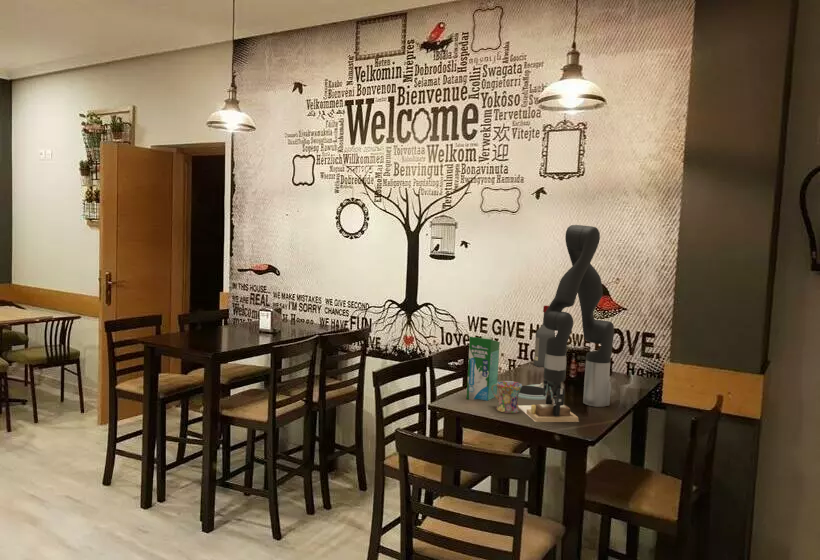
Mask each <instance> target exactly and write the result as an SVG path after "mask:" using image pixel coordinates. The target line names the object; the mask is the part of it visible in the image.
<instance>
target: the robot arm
mask: <svg viewBox="0 0 820 560" xmlns="http://www.w3.org/2000/svg"><path fill="white" fill-rule="evenodd" d="M600 238H601V234H600V231H599V229H598V227H596V226H592V225H591V226H590V225H581V224H573V225H569V226H568V227H567V229H566V231H565V245H566V248H567V252H568V256H569V258H570V262H571V265H572V266H571V267H570V268H569V269H568V270H567V271H566V272H565V273H564V275H562V277H561V279H560V280H559V284H558V286H557V289H556V292H555V296H554V297H553V299H552V301H551V302H550V304H549V305H548V306H549V307H548V308H547V310H546V312H545V314H544V313H543V317H542V324H543V323H544V326H545V327H546V328H547V329H550V330H554V331H556V332H557V333H556V334H555V337H550V338H548V339H547V344H546V356H545V364H544V367H543V383H544V386H543V396H545V399H544V400H545V404H554V406H553V415H554V416H559V415H560V406H561V405H564V404H565V394H566V389H565V388H562V383H563V382H565V381H566V376H567V375H566V374H567V346H568V342H569V338H570V336H571V333H572V330H573V329H574V328H573V327H574V318H573V316H572V314H571V313H569V312H567V311H563V310H564V309H565V308H571V307H572V306H574V304H575V302H576V299H577V296H578V301H579V306H580V313H581V322H582V324H581V325H582V334H583V337H584V339H585V341H586V342H588V343H592V344H596V345H597V344H598V345H600V347H599V349H597V350H592V351H588V352H587V353H586V355H585V369H584V382H583V385H584V386H583V397H582V399H583V400H582V403H583V404H585V405H587V406H590V407H596V408H604V407H606V406H608V407H610V404H611V403H610V402H611V401H610V400H611V391H612V390H611V389H612V382H611V381H610V371H611V370H610V369H611V359H612V353H613V344H614V338H615V337H614V335H615V326H614V324H613V322H611V321H609V320H608V321H607V320H600V319H595V317H594V311H595V309H596V307H597V306H598V304H599V303H600V302H601V299H602V297H603V294H604V291H603V289H604V288H603V285H602V279H601V276H600V274H599V273H598V271H597V269H595V267H594V266H593V265H592V264H591V263H592V261H593V260H592V259H593V258H594V255H595V254H596V252H597V249H598V247H599V243H600V240H601V239H600Z"/></svg>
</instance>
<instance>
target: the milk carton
mask: <svg viewBox="0 0 820 560" xmlns="http://www.w3.org/2000/svg"><path fill="white" fill-rule="evenodd" d="M500 345H501V344H500V341H497V340H495V339H494V340H493V337H491V336H485V335H482V336H481V337H476V336H475V337H474V336H469V345H468V361H467V364H468V365H467V379H466V380H467V382H466V383H467V384H466V386H467V387H466V400H470V401H472V400H474V401H475V400H481V401H490V400H491V399H494V398H496V397H495V396H494V394H493V393H492V390H491V387H492V385H494V384H496V385H497V382H498V380H499V379H498V378H499V362H500V361H499V359H500ZM493 391H494V393H495V395H496V396H497V395H498V387H497V386H493ZM497 397H498V396H497Z"/></svg>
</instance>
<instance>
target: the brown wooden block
mask: <svg viewBox="0 0 820 560" xmlns="http://www.w3.org/2000/svg"><path fill="white" fill-rule="evenodd" d="M534 405H536V415H537V416H538V417H556V416H554V415H553V406H554V403H552V404H546V403H544V404H543V403H539V404H538V403H537V404H534ZM570 412H571V408H570V407H569V406H568V405H567V404H565V403H564V405H561V406H560V415H559V416H570Z"/></svg>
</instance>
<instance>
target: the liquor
mask: <svg viewBox="0 0 820 560" xmlns="http://www.w3.org/2000/svg"><path fill="white" fill-rule="evenodd" d="M548 307H549V305H543V308H542V309H543V310H542V311H543V315H544V314H545V312H546V310H547V308H548ZM550 337H556V332H555V330H550V329H547V328H546V327H545V326H544V323H543V322H542V324H541V326H540V327H539V328H538V329H537V330H536V333H535V341H534V342H535V345H534V358H533V359H534V360H533V364H534V366H535V367H539V368H544V364H545V356H546V344H547V339H548V338H550Z"/></svg>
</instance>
